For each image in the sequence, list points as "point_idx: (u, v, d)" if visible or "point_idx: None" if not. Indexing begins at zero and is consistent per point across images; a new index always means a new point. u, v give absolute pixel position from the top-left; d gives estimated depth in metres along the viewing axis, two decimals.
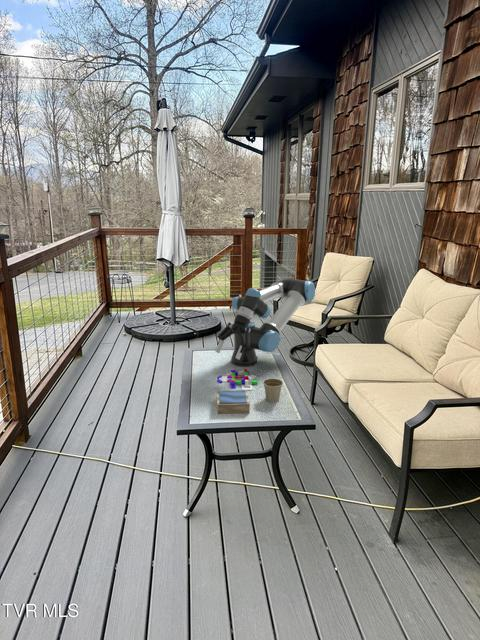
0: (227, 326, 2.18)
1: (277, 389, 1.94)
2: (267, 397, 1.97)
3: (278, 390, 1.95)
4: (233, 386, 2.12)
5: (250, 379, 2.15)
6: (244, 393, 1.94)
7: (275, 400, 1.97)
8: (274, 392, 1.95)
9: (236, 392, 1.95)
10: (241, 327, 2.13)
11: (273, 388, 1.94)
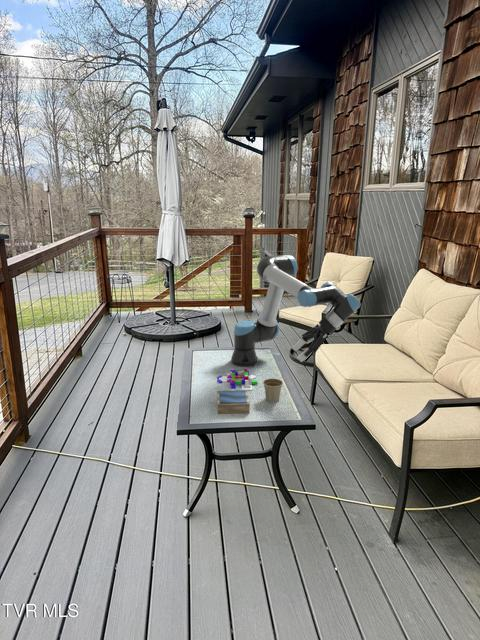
0: (324, 339, 1.86)
1: (277, 389, 1.94)
2: (267, 397, 1.97)
3: (278, 390, 1.95)
4: (233, 386, 2.12)
5: (250, 379, 2.15)
6: (244, 393, 1.94)
7: (275, 400, 1.97)
8: (274, 392, 1.95)
9: (236, 392, 1.95)
10: None
11: (273, 388, 1.94)
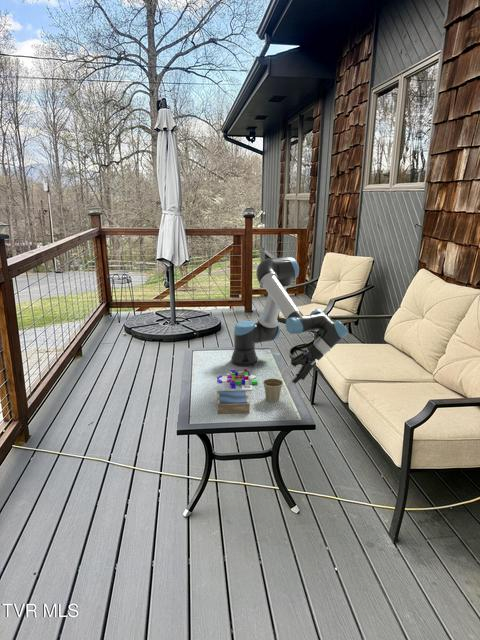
0: None
1: (277, 389, 1.94)
2: (267, 397, 1.97)
3: (278, 390, 1.95)
4: (233, 386, 2.12)
5: (250, 379, 2.14)
6: (244, 393, 1.94)
7: (275, 400, 1.97)
8: (274, 392, 1.95)
9: (236, 392, 1.95)
10: None
11: (273, 388, 1.94)
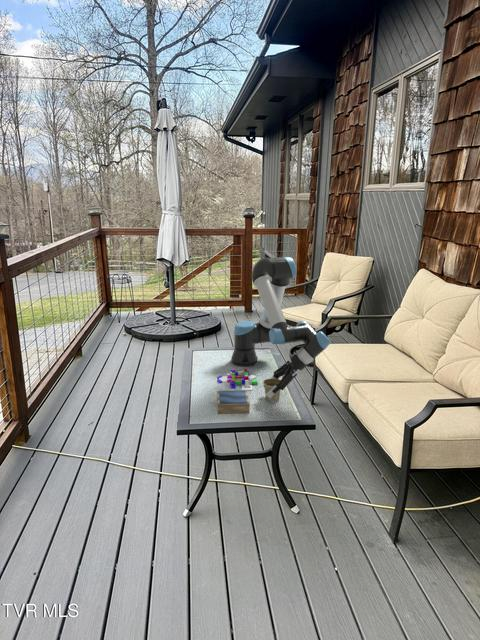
0: (293, 377, 1.91)
1: None
2: (267, 397, 1.97)
3: None
4: (233, 386, 2.12)
5: (250, 379, 2.14)
6: (244, 393, 1.94)
7: (275, 400, 1.96)
8: None
9: (236, 392, 1.95)
10: None
11: None
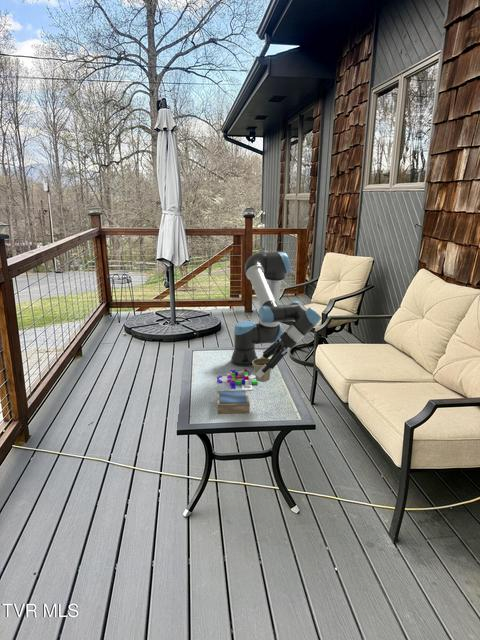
0: (283, 355, 1.84)
1: None
2: (257, 377, 1.91)
3: None
4: (233, 386, 2.12)
5: (250, 379, 2.14)
6: (244, 393, 1.94)
7: (265, 380, 1.90)
8: None
9: (236, 392, 1.95)
10: None
11: None
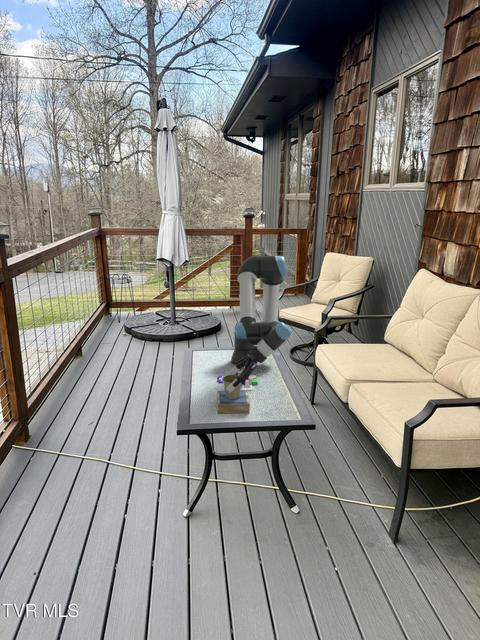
0: None
1: None
2: (226, 394, 1.89)
3: (237, 386, 1.87)
4: None
5: (250, 379, 2.14)
6: (244, 393, 1.94)
7: (235, 397, 1.88)
8: None
9: None
10: None
11: None
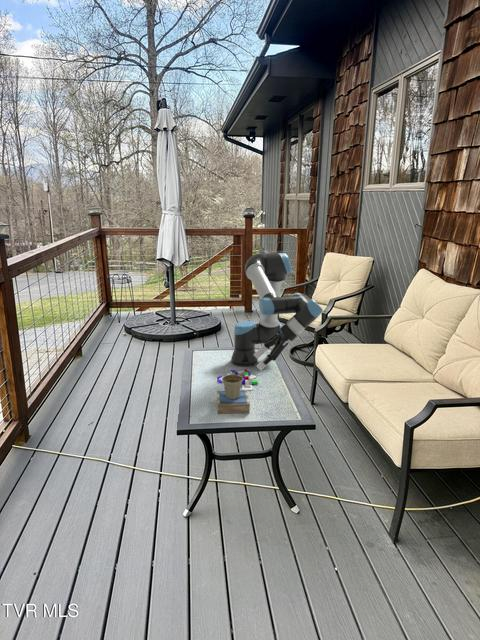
0: None
1: (236, 385, 1.86)
2: (226, 394, 1.89)
3: (237, 386, 1.87)
4: None
5: (250, 379, 2.14)
6: (244, 393, 1.94)
7: (235, 397, 1.88)
8: (233, 388, 1.86)
9: None
10: None
11: (232, 384, 1.85)
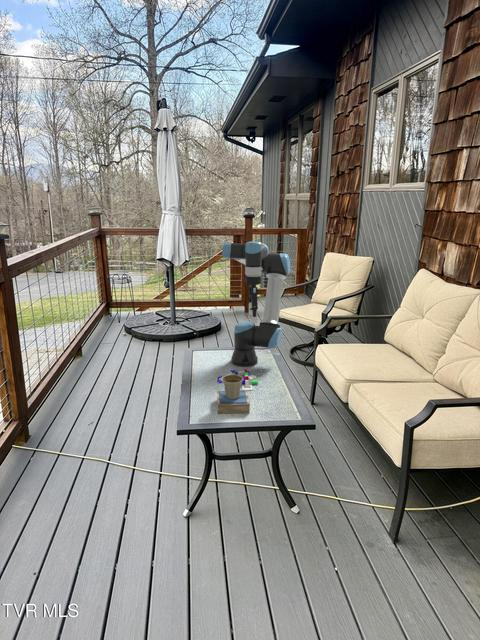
0: None
1: (236, 385, 1.86)
2: (226, 394, 1.89)
3: (237, 386, 1.87)
4: None
5: (250, 379, 2.14)
6: (244, 393, 1.94)
7: (235, 397, 1.88)
8: (233, 388, 1.86)
9: None
10: None
11: (232, 384, 1.85)
